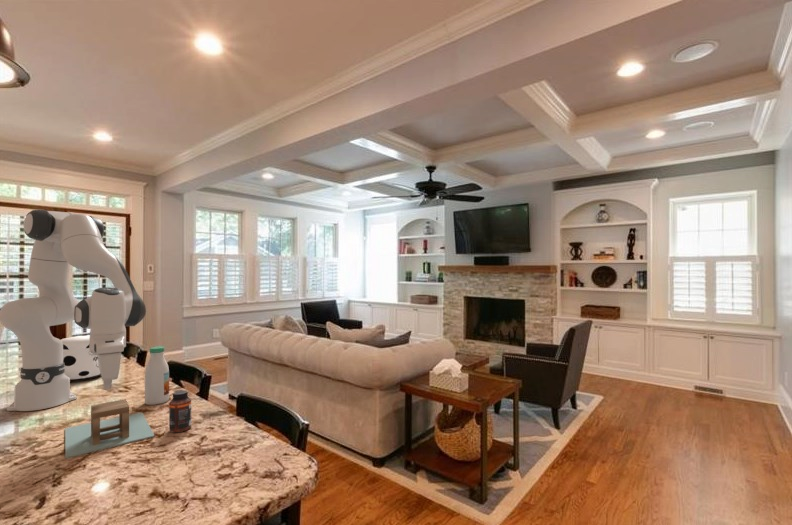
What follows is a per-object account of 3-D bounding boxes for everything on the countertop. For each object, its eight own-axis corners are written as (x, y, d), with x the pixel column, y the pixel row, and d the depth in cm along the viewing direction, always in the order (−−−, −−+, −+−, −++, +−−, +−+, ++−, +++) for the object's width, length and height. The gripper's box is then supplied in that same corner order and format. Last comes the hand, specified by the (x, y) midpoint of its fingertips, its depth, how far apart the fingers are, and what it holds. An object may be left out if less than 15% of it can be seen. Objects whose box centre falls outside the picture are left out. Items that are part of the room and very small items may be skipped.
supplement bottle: (196, 426, 123) (195, 390, 123) (179, 434, 117) (179, 396, 117) (181, 424, 125) (181, 388, 125) (164, 431, 119) (164, 394, 119)
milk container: (113, 376, 180) (113, 336, 180) (65, 386, 165) (65, 343, 165) (96, 371, 189) (96, 333, 189) (50, 380, 174) (50, 339, 175)
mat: (65, 429, 121) (65, 428, 121) (142, 413, 134) (142, 412, 134) (65, 458, 103) (65, 456, 103) (154, 436, 116) (154, 435, 116)
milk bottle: (157, 406, 141) (157, 350, 141) (139, 404, 143) (139, 349, 143) (174, 399, 149) (174, 345, 149) (156, 397, 150) (156, 345, 150)
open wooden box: (91, 405, 116) (92, 413, 109) (125, 399, 121) (129, 406, 115) (91, 435, 116) (92, 445, 109) (125, 427, 121) (129, 436, 115)
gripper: (93, 338, 124) (92, 382, 124) (96, 349, 108) (96, 400, 108) (117, 336, 128) (116, 378, 128) (124, 346, 113) (123, 395, 112)
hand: (107, 388), depth 118 cm, fingers closed
